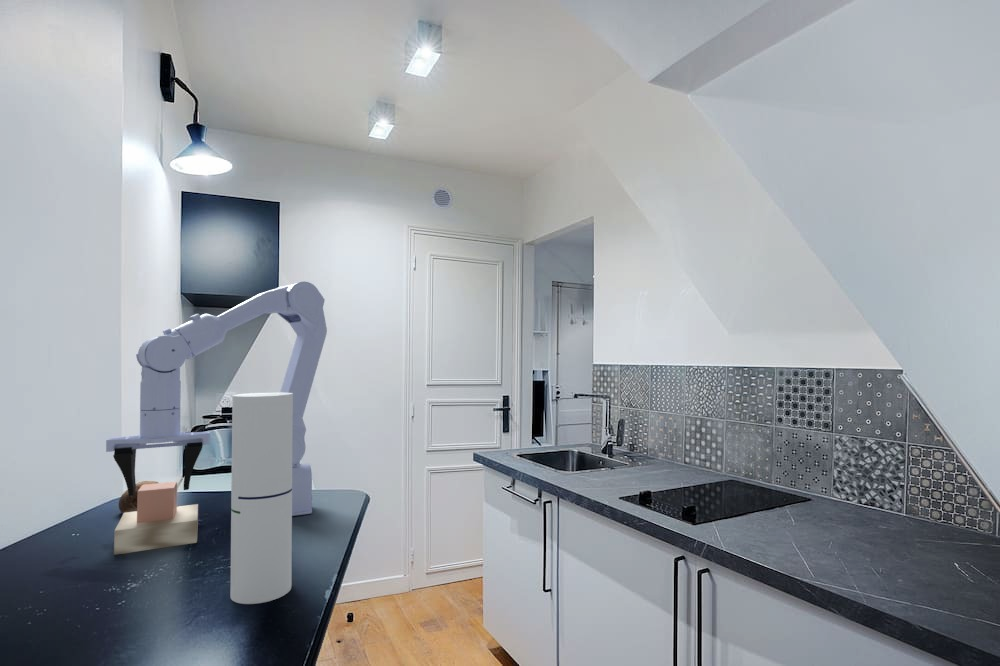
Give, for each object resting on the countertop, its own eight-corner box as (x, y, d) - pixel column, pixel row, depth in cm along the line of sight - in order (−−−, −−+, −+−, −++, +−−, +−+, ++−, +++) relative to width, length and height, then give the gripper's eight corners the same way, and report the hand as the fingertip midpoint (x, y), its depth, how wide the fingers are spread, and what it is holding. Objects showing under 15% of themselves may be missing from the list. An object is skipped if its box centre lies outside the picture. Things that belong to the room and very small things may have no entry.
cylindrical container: (269, 606, 66) (271, 396, 67) (217, 601, 67) (219, 396, 68) (302, 581, 73) (303, 392, 74) (254, 577, 74) (256, 392, 75)
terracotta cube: (176, 511, 94) (177, 481, 94) (173, 518, 89) (173, 487, 89) (142, 514, 92) (142, 484, 92) (136, 523, 87) (137, 491, 87)
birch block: (197, 526, 98) (198, 504, 98) (196, 545, 88) (197, 520, 89) (123, 536, 93) (124, 512, 93) (113, 557, 83) (114, 530, 83)
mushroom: (180, 489, 110) (158, 466, 108) (153, 516, 102) (129, 491, 101) (153, 505, 112) (131, 483, 110) (125, 532, 104) (101, 509, 103)
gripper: (102, 413, 84) (101, 503, 84) (209, 408, 91) (208, 491, 90) (111, 409, 91) (110, 492, 90) (210, 405, 97) (209, 482, 97)
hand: (159, 491), depth 91 cm, fingers open, 7 cm apart
